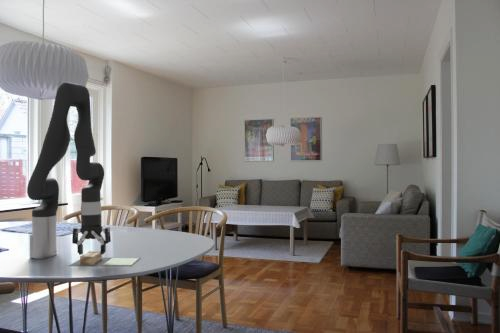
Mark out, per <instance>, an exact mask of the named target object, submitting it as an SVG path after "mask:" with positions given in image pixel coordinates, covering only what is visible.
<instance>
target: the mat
mask: <svg viewBox="0 0 500 333" xmlns="http://www.w3.org/2000/svg"><path fill="white" fill-rule="evenodd" d="M141 259H142V257H102V259H101V260H99V261H98V262H96V263H95V264H93V265H84V264H80V259H78V260H76V261H74V262H73V263H71V264H69V265H68V267H122V268H123V267H124V268H125V267H131V268H132V267H133V266H134V265H135V264H136V263H138V262H139V261H140V260H141Z"/></svg>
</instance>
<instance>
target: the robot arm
mask: <svg viewBox="0 0 500 333" xmlns="http://www.w3.org/2000/svg"><path fill="white" fill-rule="evenodd" d="M90 95H91V94H90V92H89V89H88V88H87V86H85V85H84V84H80V83H75V82H71V81H70V82H69V81H65V82H64V81H63V82H62V83H60V84H59V85H58V88H57V90H56V93H55V98H54V103H53V104H54V105H53V108H52V113H51V118H50V120H49V124H48V126H47V127H48V128H47V131H46V132H45V133H46V134H45V136H44V140H43V143H42V147H41V150H40V154H39V156H38V159H37V161H36V164H35V167H34V169H33V172H32V174H31V176H30V178H29V180H28V183H27V187H26V193H27V196H28V198H29V199H30V200H32V201H41V203H40V205H38V206H36V207H35V208H33V209H32V211H31V234H30V235H29V258H30V259H35V260H42V259H49V258H51V257H54V256H57V253H58V252H57V251H58V250H57V246H58V245H57V212H58V209H59V200H60V199H59V196H60V195H59V194H60V185H59V183H58V180H57V179H56V178H54V177H48V176H49V174H50V172H51V171H52V169H53V168H54V167H55V166H56V165H57V164H58V163H59V162H60V161H61V160H62V159H63V158H64V157H65V155H66V154H67V153H68V151H67V150H68V149H69V145H70V143H71V133H70V132H71V131H70V128H69V126H68V115H69V110H70V108H71V107H73V108H76V111H77V118H78V119H77V123H76V127H75V129H74V135H73V140H74V146H75V150H76V163H75V172H76V175H77V177H78V178H79V179H80V180H82V181H88V184H87V185H86V186H84V187H82V188H81V192H80V194H81V201H80V202H81V204H80V228H79V227H74V228H73V229H72V242H71V243H72V244H73V245H74V244H75V245H77V246H76V247H77V254H78V255H79V256H82V255H84V242H85V241H86V240H97V242H99V244H100V252H101V254H102V255H104V254H105V253H106V252H107V251H106V250H107V249H106V248H107V247H106V244H109V243H111V242H112V241H111V228H110V227H109V226H108V227H102V212H103V210H102V204H101V203H102V202H101V190H102V186H103V181H104V178H105V168H104V166H103V165H102V163H100V162H98V161H97V162H94V161H93V162H92V161H91V157H94V156H95V155H96V154H97V152H96V150H97V149H96V146H95V140H94V137H93V130H92V113H91V97H90ZM102 232H103V234H104V235H103V234H101V233H102ZM80 233H81V236H80V238H79V234H80Z"/></svg>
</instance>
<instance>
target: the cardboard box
mask: <svg viewBox="0 0 500 333" xmlns="http://www.w3.org/2000/svg"><path fill="white" fill-rule="evenodd" d="M102 255H103V254H101V250H100V251H95V250H94V251H91V250H90V251H88V252H86V253H85V254H84V253H83V254H81V255H79V256H80V257H79V260H80V264H84V265H93V264H95V263H96V262H98V261H99V260H101V259H102V258H103V257H102Z"/></svg>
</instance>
